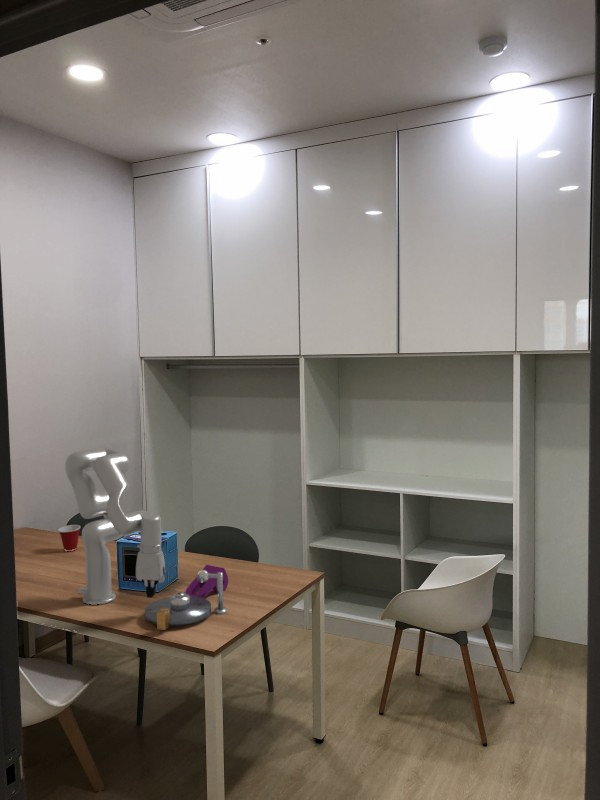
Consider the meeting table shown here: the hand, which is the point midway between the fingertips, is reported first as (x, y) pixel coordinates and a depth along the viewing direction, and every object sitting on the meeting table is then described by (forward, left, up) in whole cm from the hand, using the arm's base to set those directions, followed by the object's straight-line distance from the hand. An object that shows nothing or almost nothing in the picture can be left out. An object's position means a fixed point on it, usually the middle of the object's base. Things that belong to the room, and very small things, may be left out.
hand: (150, 596), depth 240 cm
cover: (+12, 0, -3) cm, 12 cm away
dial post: (+22, +7, -7) cm, 24 cm away
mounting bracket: (+13, +23, -7) cm, 28 cm away
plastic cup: (-76, +71, -7) cm, 104 cm away
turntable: (+11, -2, -5) cm, 12 cm away
